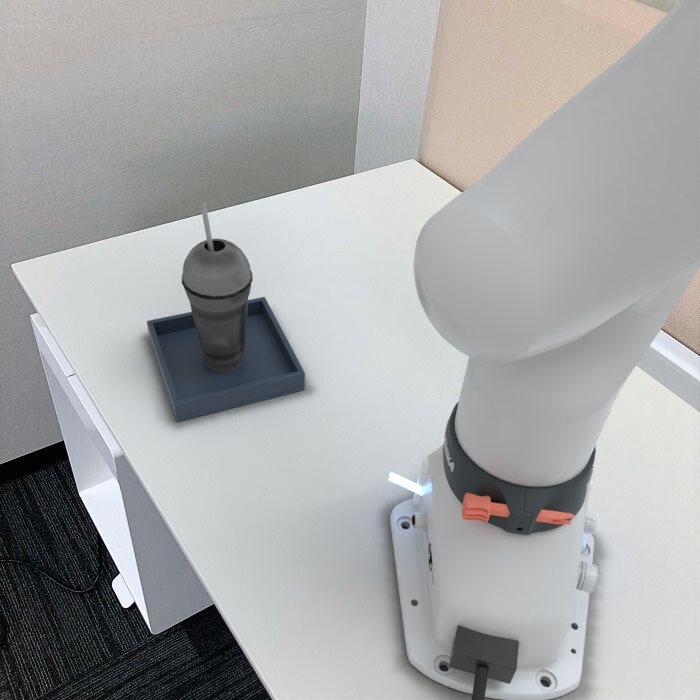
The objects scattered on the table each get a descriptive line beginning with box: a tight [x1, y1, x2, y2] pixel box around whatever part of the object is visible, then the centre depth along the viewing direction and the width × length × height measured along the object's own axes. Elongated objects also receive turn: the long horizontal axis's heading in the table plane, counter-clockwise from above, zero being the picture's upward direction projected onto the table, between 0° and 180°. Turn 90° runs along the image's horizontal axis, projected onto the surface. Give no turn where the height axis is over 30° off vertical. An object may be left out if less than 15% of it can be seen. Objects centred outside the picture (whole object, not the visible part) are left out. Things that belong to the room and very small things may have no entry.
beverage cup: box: [181, 199, 254, 373], centre depth 77 cm, size 7×7×20 cm
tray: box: [146, 296, 306, 423], centre depth 83 cm, size 14×14×3 cm
